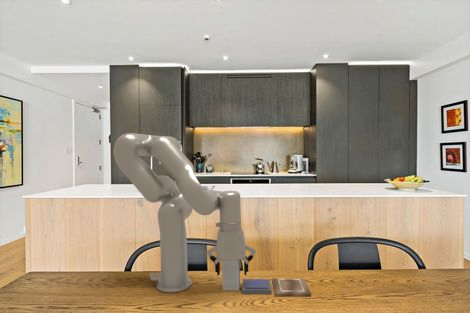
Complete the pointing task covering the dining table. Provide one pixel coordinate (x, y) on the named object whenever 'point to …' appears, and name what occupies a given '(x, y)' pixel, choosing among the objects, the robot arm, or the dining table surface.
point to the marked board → (291, 287)
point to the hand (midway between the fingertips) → (232, 273)
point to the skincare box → (231, 275)
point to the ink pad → (256, 286)
